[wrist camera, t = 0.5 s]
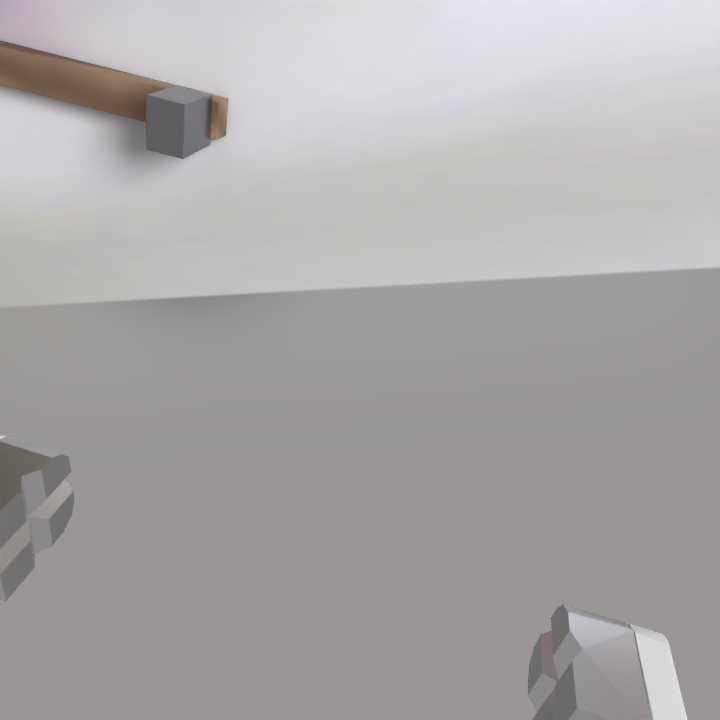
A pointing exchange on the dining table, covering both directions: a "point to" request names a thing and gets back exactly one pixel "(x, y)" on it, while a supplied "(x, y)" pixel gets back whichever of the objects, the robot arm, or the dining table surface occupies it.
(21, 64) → the l-shaped wooden bracket
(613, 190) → the dining table surface
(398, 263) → the dining table surface
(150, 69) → the dining table surface
